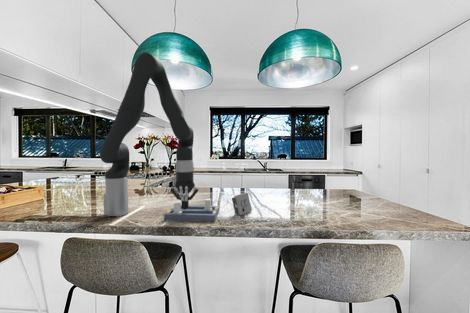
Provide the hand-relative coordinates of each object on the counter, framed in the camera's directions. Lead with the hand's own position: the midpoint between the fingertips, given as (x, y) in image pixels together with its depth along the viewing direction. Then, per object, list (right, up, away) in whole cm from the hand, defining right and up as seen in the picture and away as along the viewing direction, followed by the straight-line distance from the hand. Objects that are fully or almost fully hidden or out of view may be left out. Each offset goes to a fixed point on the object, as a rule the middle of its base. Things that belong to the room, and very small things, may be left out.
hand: (185, 209), depth 101 cm
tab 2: (+10, -2, +6) cm, 11 cm away
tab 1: (-3, -3, 0) cm, 4 cm away
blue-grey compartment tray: (+3, -4, +3) cm, 6 cm away
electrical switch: (+25, -4, +8) cm, 27 cm away
